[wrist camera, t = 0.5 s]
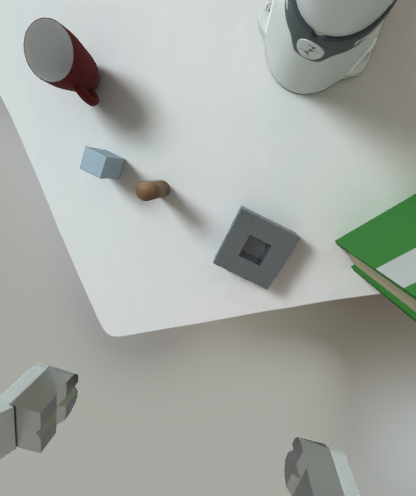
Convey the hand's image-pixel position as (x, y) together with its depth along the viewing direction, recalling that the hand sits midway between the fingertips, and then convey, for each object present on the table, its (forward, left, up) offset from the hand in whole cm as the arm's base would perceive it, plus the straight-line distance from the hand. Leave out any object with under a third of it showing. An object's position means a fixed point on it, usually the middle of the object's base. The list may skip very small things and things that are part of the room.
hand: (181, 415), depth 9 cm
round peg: (+1, -15, -42) cm, 45 cm away
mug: (-11, -34, -42) cm, 56 cm away
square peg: (+1, -26, -42) cm, 50 cm away
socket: (+3, +7, -42) cm, 43 cm away
